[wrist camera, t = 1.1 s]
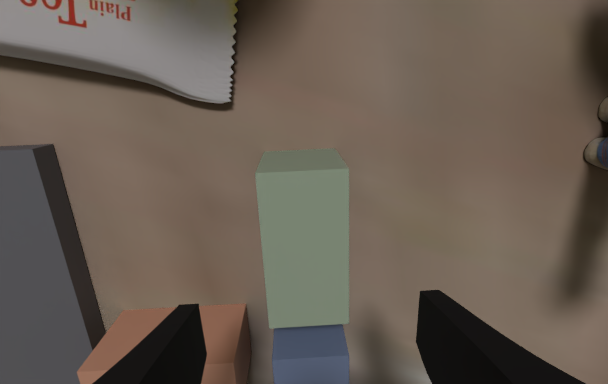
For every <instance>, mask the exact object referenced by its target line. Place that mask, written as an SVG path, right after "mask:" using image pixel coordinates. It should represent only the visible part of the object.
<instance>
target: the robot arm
mask: <svg viewBox="0 0 608 384" xmlns="http://www.w3.org/2000/svg"><path fill="white" fill-rule="evenodd" d="M416 343H417V346H418V349H419V352H420V355H421V358H422V361H423V363H424V366H425V369H426V371H427V374H428V376H429V378H430V380H431V382H432V384H585V383H584V382H582V381H580V380H578V379H576V378H574V377H572V376H571V375H569V374H567V373H565V372H563V371H562V370H560V369H558V368H556V367H554V366H552V365H551V364H549V363H547V362H546V361H544V360H542V359H540V358H539V357H537V356H535V355H534V354H532V353H531V352H529V351H527V350H526V349H524V348H523V347H521V346H519V345H518V344H516V343H515V342H513V341H512V340H510V339H509V338H507V337H505V336H504V335H502V334H501V333H499V332H498V331H497V330H495V329H494V328H492V327H491V326H489V325H488V324H486V323H485V322H483V321H482V320H481V319H479V318H478V317H476V316H475V315H474V314H472V313H471V312H469V311H468V310H467V309H465V308H464V307H462V306H461V305H460V304H458V303H457V302H456V301H454V300H453V299H451V298H450V297H448V296H447V295H446V294H444V293H443V292H441V291H440V290H429V291H420V298H419V311H418V323H417V336H416ZM206 357H207V351H206V345H205V339H204V333H203V328H202V322H201V316H200V310H199V304H186V305H179V306H178V307H177V308H175V309H174V310H173V311H172V312H171V313H170V314H169V315H168V316H167V317H166V318H165V319H164V320H163V321H162V322H161V323H160V324H159V325H158V326H157V327H156V328H154V329H153V330H152V331H151V332H150V333H149V334H148V335H147V336H146V337H145V338H144V339H143V340H142V341H141V342H140V343H138V344H137V345H136V346H135V347H134V348H133V349H132V350H131V351H130V352H129V353H128V354H126V355H125V356H124V357H123V358H122V359H121V360H119V361H118V362H117V363H116V364H115V365H114V366H113V367H111V368H110V369H109V370H108V371H107V372H106V373H104V374H103V375H102V376H101V377H100V378H99V379H97V380H96V381H95V382H94V383H92V384H201V381H202V377H203V372H204V367H205V362H206Z"/></svg>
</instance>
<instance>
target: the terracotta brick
mask: <svg viewBox="0 0 608 384" xmlns="http://www.w3.org/2000/svg"><path fill="white" fill-rule="evenodd" d="M175 308H177V307H175ZM175 308H157V309H139V310H123V311H122V313H121V314H120V315H119V317H118V318H117V319H116V321H115V322H114V323H113V325H112V326H111V327H110V329H109V330H108V331H107V333H106V334H105V335H104V337H103V338H102V339H101V340H100V342H99V343H98V344H97V346H96V347H95V348H94V350H93V351H92V352H91V354H90V355H89V356H88V358H87V359H86V360H85V362H84V363H83V364H82V366H81V367H80V368H79V370H78V371H77V375H78V378H79V381H80V384H92V383H94V382H95V381H96V380H97V379H99V378H100V377H101V376H102V375H103V374H104V373H106V372H107V371H108V370H109V369H110V368H111V367H113V366H114V365H115V364H116V363H117V362H118V361H119V360H121V359H122V358H123V357H124V356H125V355H126V354H128V353H129V352H130V351H131V350H132V349H133V348H134V347H135V346H136V345H137V344H138V343H140V342H141V341H142V340H143V339H144V338H145V337H146V336H147V335H148V334H149V333H150V332H151V331H152V330H153V329H154V328H156V327H157V326H158V325H159V324H160V323H161V322H162V321H163V320H164V319H165V318H166V317H167V316H168V315H169V314H170V313H171V312H172V311H173V310H174V309H175ZM199 310H200V316H201V322H202V328H203V333H204V339H205V345H206V351H207V357H206V362H205V367H204V372H203V377H202V381H201V384H247V378H248V371H249V365H250V358H251V344H250V335H249V326H248V317H247V308H246V304H230V305H212V306H199Z"/></svg>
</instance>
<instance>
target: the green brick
mask: <svg viewBox="0 0 608 384" xmlns="http://www.w3.org/2000/svg"><path fill="white" fill-rule="evenodd" d="M255 177H256V188H257V199H258V210H259V221H260V232H261V243H262V254H263V265H264V276H265V287H266V297H267V308H268V319H269V328H286V327H302V326H318V325H335V324H349V168H348V166H347V165H346V164H345V162H344V161H343V159H342V158H341V157H340V155H339V154H338V152H337V151H336V150H335V148H330V149H310V150H289V151H269V152H264V153H263V156H262V158H261V161H260V163H259V165H258V168H257V170H256V172H255Z"/></svg>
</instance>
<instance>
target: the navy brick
mask: <svg viewBox="0 0 608 384" xmlns="http://www.w3.org/2000/svg"><path fill="white" fill-rule="evenodd" d="M272 364H273V375H274V384H349V353H348V348H347V344H346V339H345V334H344V330H343V325H342V324H335V325H318V326H302V327H286V328H274V341H273V355H272Z"/></svg>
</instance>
